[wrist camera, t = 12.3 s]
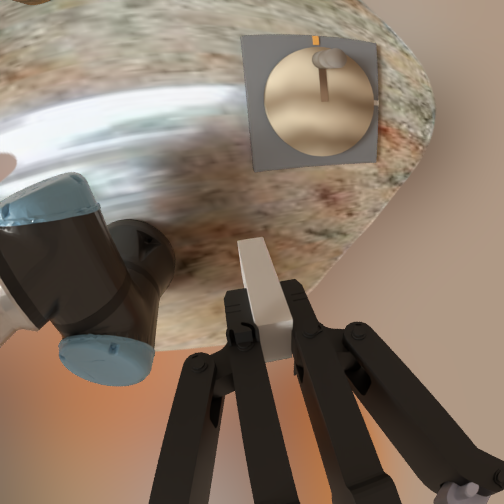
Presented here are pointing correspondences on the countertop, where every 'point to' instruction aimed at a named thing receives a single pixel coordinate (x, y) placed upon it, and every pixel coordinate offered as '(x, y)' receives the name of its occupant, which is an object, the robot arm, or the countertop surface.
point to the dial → (319, 101)
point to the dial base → (261, 133)
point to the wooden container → (32, 1)
